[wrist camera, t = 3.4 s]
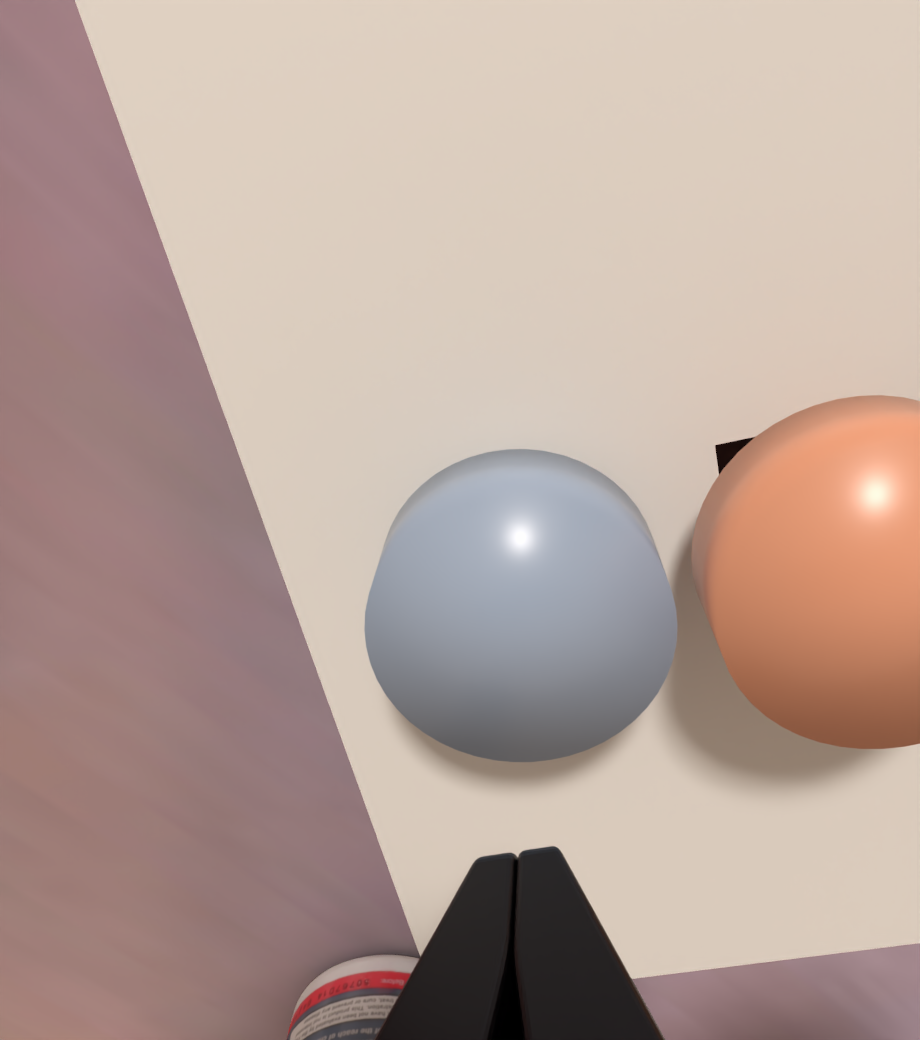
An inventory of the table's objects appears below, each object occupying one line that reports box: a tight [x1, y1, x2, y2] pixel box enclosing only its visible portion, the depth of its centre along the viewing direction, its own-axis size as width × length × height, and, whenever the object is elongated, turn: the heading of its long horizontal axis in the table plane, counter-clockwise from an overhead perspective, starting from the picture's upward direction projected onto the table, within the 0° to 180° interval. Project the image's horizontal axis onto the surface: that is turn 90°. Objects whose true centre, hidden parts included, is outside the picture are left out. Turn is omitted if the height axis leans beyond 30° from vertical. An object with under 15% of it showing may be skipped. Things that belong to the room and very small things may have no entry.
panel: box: [75, 0, 920, 979], centre depth 15 cm, size 18×20×2 cm
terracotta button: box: [691, 395, 920, 749], centre depth 13 cm, size 5×5×4 cm
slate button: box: [364, 449, 677, 762], centre depth 15 cm, size 5×5×4 cm
